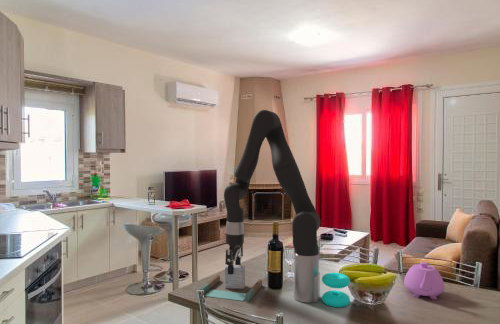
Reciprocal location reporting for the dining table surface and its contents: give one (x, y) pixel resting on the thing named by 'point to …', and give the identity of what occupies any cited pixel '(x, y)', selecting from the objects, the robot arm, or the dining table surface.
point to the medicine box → (235, 277)
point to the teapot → (424, 281)
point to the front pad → (226, 295)
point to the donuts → (333, 296)
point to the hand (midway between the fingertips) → (234, 271)
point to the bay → (217, 279)
